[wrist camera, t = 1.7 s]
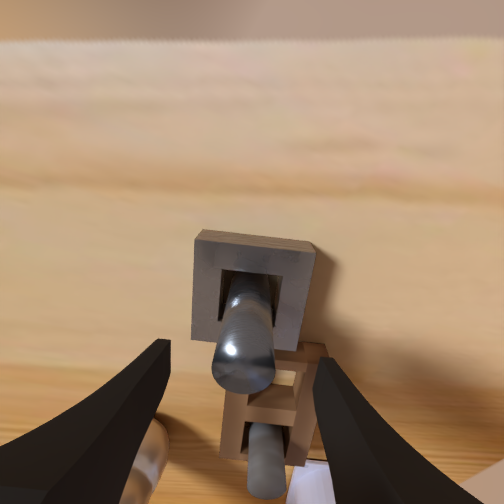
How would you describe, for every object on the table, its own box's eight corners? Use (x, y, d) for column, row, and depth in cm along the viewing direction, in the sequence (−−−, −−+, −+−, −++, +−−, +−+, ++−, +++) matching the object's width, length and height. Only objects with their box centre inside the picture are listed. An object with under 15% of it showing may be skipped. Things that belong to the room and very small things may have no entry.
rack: (324, 344, 22) (346, 406, 17) (300, 439, 26) (311, 515, 21) (232, 334, 22) (223, 393, 17) (222, 431, 26) (212, 505, 21)
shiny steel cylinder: (271, 268, 20) (280, 347, 12) (266, 301, 21) (271, 397, 13) (233, 263, 20) (213, 340, 12) (230, 297, 21) (209, 390, 13)
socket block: (309, 241, 19) (316, 253, 17) (291, 330, 22) (295, 351, 20) (202, 229, 19) (194, 239, 17) (198, 320, 22) (190, 339, 19)
